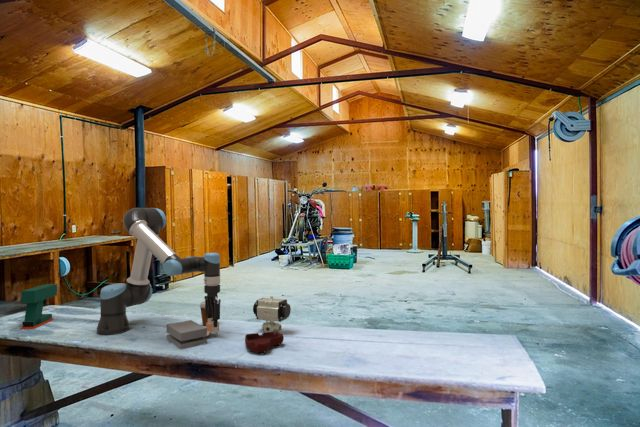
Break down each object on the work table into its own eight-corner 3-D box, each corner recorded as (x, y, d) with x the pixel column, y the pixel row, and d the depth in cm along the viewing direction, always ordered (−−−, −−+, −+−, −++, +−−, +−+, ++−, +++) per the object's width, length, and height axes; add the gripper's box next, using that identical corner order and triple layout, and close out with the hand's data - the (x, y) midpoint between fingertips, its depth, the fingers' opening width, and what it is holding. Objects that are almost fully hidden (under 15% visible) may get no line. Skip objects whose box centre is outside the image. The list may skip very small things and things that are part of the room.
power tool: (53, 314, 240) (53, 281, 240) (65, 314, 241) (65, 281, 241) (19, 329, 209) (19, 291, 209) (34, 329, 209) (33, 291, 210)
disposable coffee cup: (212, 327, 209) (212, 304, 209) (196, 326, 211) (196, 304, 211) (221, 322, 218) (220, 301, 218) (205, 322, 220) (204, 300, 220)
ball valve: (251, 332, 199) (251, 297, 199) (260, 328, 207) (259, 294, 207) (283, 336, 192) (282, 299, 192) (291, 331, 200) (290, 296, 200)
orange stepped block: (185, 338, 182) (184, 329, 182) (179, 335, 188) (179, 326, 188) (220, 331, 194) (220, 323, 194) (214, 328, 199) (214, 320, 199)
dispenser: (181, 349, 175) (180, 333, 175) (166, 339, 190) (166, 324, 190) (209, 342, 183) (208, 327, 183) (192, 333, 198) (192, 319, 198)
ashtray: (257, 339, 188) (257, 329, 188) (286, 344, 181) (286, 333, 181) (232, 351, 173) (232, 339, 173) (263, 357, 165) (263, 345, 165)
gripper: (197, 283, 199) (198, 330, 199) (212, 287, 186) (212, 337, 186) (212, 281, 204) (212, 327, 204) (227, 285, 191) (227, 334, 190)
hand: (212, 332), depth 195 cm, fingers closed on orange stepped block, 4 cm apart
